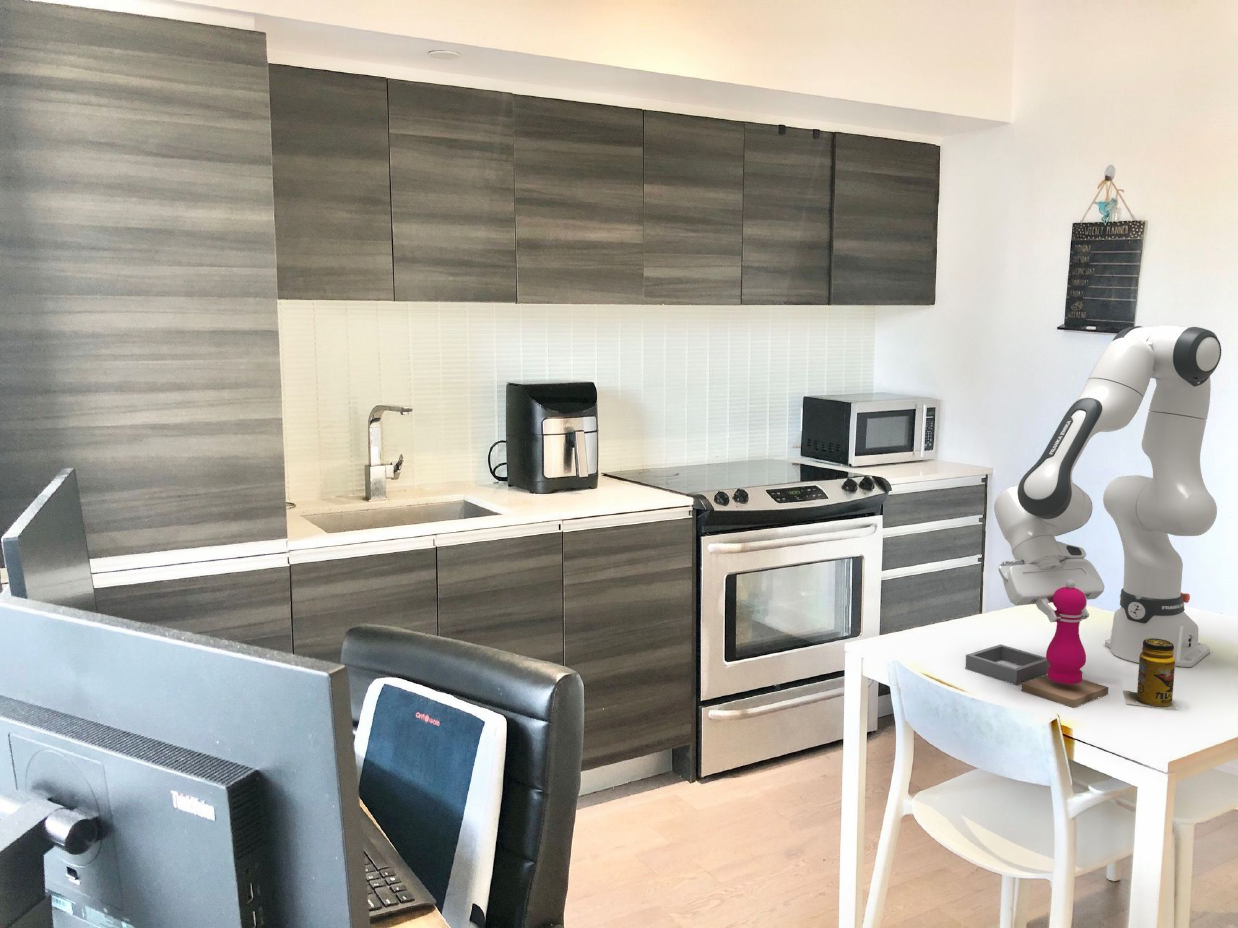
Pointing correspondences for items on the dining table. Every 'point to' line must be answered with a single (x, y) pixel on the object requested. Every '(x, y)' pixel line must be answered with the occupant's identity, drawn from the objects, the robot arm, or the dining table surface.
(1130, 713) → the dining table surface
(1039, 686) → the walnut board
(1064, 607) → the pepper mill
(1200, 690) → the dining table surface
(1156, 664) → the condiment
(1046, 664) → the gray square tray
